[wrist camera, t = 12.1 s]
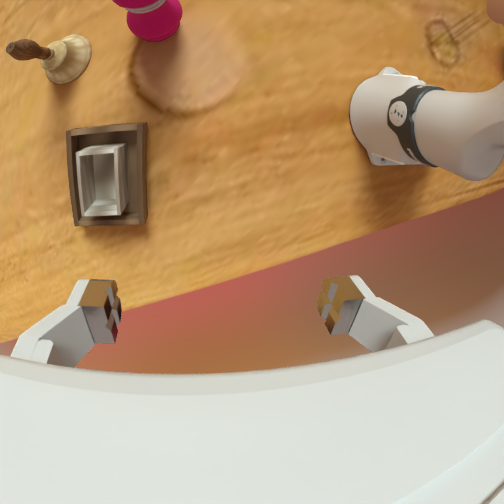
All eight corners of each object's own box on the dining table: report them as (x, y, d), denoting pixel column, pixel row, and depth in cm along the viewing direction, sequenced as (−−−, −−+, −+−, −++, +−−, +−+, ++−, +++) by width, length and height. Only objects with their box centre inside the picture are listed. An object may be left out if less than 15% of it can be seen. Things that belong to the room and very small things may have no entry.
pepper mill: (153, 53, 30) (120, 12, 13) (124, 26, 26) (75, -24, 9) (193, 23, 28) (195, -39, 12) (163, -4, 25) (145, -72, 8)
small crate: (127, 142, 35) (117, 148, 30) (129, 200, 39) (120, 215, 34) (90, 145, 34) (75, 152, 29) (94, 201, 38) (81, 216, 33)
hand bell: (65, 93, 29) (6, 96, 16) (37, 67, 25) (-23, 62, 11) (101, 51, 27) (55, 29, 14) (72, 26, 23) (21, 0, 10)
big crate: (147, 122, 35) (142, 123, 32) (147, 215, 42) (144, 224, 39) (75, 128, 32) (66, 131, 29) (82, 217, 39) (74, 226, 36)
